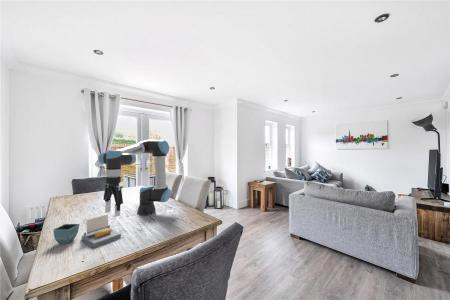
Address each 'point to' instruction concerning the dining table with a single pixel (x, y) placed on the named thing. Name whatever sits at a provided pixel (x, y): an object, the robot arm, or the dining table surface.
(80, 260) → the dining table surface
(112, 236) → the desk card holder
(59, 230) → the flower pot
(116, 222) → the dining table surface
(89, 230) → the cover
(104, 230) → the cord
